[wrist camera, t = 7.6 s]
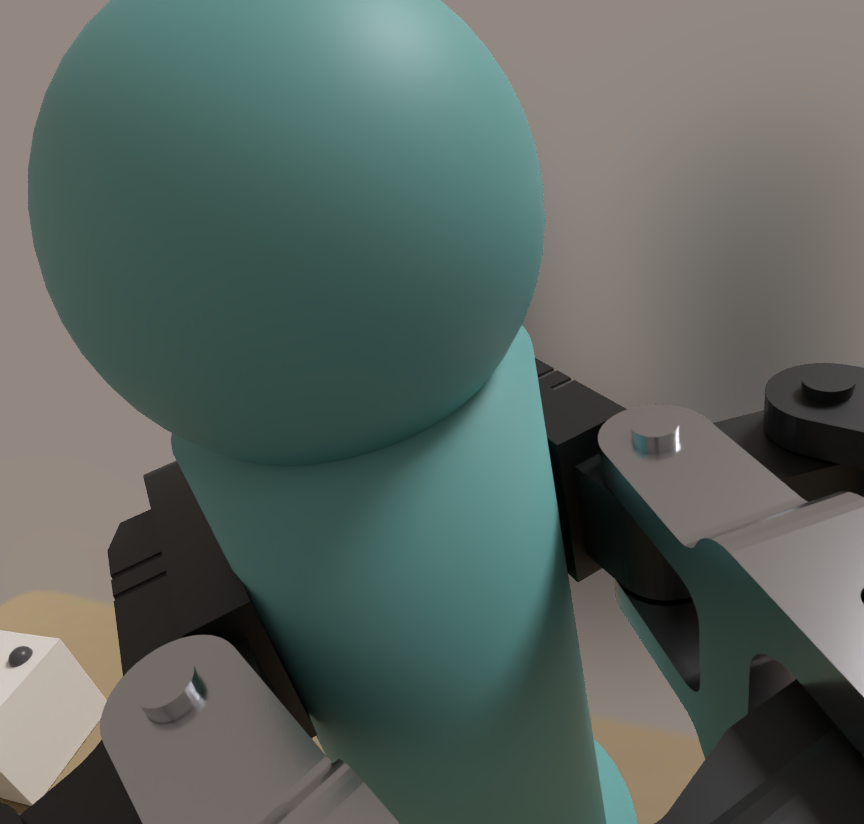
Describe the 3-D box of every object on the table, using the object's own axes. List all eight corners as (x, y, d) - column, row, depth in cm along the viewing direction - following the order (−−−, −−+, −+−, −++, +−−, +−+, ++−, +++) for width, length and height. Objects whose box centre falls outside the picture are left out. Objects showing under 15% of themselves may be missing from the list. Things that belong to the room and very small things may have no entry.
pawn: (333, 981, 11) (-316, 58, 4) (422, 720, 15) (158, -5, 8) (633, 1080, 10) (398, -211, 2) (650, 757, 13) (574, -128, 6)
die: (-42, 786, 32) (-117, 715, 29) (38, 692, 36) (-22, 621, 33) (35, 807, 30) (-38, 733, 27) (110, 705, 34) (54, 631, 31)
